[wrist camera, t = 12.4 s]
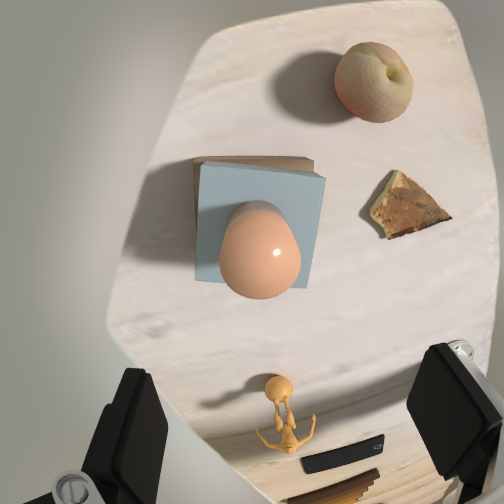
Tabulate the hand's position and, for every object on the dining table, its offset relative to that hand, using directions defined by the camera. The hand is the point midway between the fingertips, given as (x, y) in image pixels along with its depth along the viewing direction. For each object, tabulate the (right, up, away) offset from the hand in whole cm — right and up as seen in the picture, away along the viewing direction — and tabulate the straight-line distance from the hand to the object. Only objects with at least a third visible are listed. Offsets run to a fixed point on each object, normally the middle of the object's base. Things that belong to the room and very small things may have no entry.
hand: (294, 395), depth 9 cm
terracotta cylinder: (-1, +6, +16) cm, 18 cm away
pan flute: (+25, -65, +56) cm, 89 cm away
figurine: (+3, -15, +34) cm, 37 cm away
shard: (+18, +11, +25) cm, 32 cm away
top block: (-1, +8, +20) cm, 22 cm away
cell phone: (+18, -39, +45) cm, 63 cm away
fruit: (+10, +23, +19) cm, 31 cm away
